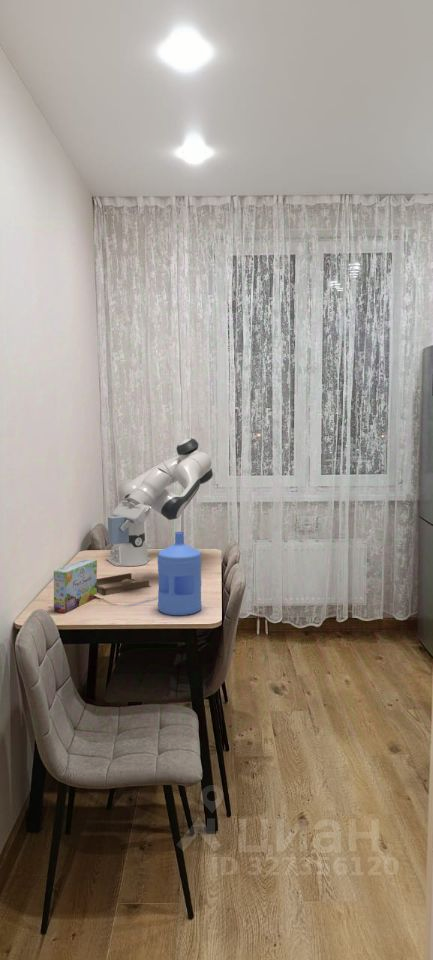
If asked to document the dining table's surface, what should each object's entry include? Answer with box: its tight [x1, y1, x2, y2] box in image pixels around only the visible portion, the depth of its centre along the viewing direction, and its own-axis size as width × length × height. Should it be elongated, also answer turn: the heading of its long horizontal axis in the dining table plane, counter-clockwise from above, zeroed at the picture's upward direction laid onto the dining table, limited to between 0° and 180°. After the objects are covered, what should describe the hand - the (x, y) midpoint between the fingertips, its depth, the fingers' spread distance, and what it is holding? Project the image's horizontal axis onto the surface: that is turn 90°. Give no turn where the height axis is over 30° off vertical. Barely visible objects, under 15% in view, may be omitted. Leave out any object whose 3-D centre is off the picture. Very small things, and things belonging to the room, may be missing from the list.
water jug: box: [157, 531, 202, 616], centre depth 229 cm, size 16×16×28 cm
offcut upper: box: [121, 579, 139, 585], centre depth 257 cm, size 6×3×2 cm, turn 58°
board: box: [107, 516, 129, 545], centre depth 246 cm, size 4×7×10 cm, turn 125°
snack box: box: [53, 558, 98, 614], centre depth 236 cm, size 21×6×15 cm, turn 160°
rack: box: [97, 572, 152, 600], centre depth 255 cm, size 15×21×4 cm
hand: (118, 529), depth 246 cm, fingers closed on board, 3 cm apart
